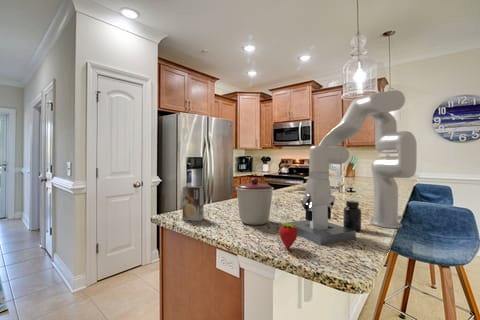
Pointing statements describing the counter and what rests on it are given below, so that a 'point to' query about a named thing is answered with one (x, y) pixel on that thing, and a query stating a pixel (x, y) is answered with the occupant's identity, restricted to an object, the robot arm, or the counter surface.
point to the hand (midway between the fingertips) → (318, 219)
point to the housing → (324, 233)
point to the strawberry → (288, 234)
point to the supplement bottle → (352, 216)
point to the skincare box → (319, 217)
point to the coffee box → (193, 203)
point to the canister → (254, 202)
